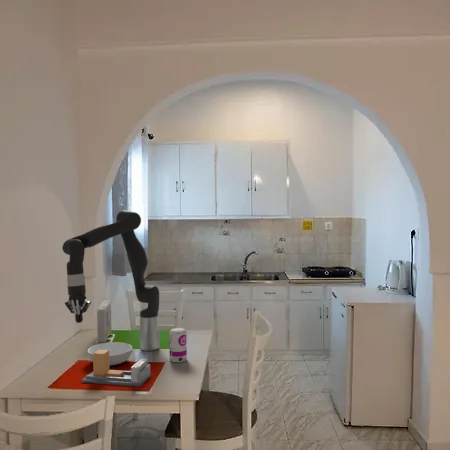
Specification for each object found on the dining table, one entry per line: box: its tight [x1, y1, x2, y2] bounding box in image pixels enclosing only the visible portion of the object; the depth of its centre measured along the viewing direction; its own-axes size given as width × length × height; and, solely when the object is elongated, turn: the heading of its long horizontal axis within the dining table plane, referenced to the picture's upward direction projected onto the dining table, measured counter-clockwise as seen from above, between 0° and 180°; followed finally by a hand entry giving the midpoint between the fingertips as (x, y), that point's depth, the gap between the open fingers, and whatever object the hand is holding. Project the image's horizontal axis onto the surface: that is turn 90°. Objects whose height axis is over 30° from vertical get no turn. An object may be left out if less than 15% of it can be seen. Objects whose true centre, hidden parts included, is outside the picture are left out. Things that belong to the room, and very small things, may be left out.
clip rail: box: [81, 358, 151, 387], centre depth 193 cm, size 26×12×8 cm, turn 79°
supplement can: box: [168, 327, 188, 363], centre depth 217 cm, size 8×8×15 cm
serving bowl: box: [87, 341, 133, 367], centre depth 215 cm, size 21×21×7 cm
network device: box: [95, 300, 116, 345], centre depth 253 cm, size 26×9×20 cm, turn 6°
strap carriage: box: [92, 350, 125, 377], centre depth 194 cm, size 12×5×10 cm, turn 79°
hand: (79, 322), depth 201 cm, fingers closed
